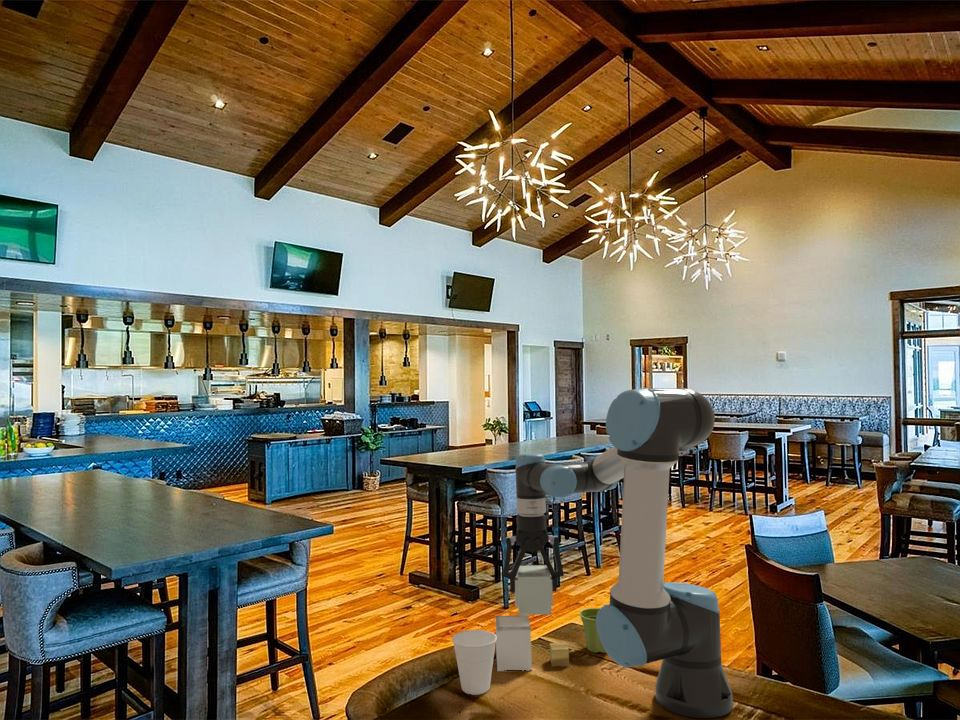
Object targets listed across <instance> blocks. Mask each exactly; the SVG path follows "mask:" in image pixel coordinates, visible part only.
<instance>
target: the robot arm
mask: <svg viewBox="0 0 960 720" xmlns="http://www.w3.org/2000/svg"><path fill="white" fill-rule="evenodd" d="M609 405H610V406H609V408H608V410H607V414H606V419H605V430H606V434H607V435H608V436H609V437H608V440H609V442H610V444H611V445H612V447H611V448H609V449H607V450H605V451H604V452H602V453H600V454H599V455H597V456H596V457H594V458H593V459H591V460H589V461H588V460H587V461H579V462H567V463H546V461H545V460H546V459H545V455H544V454H542V453H537V452H533V453H532V452H527V453H519V454H517V455H516V458H515V468H514V469H515V470H514V471H515V487H516V512H517V516H516V533H515V535H513V536H509V535H506V537H505V543H506V547H505V557H504V562H503V571H502V575H503V577H504V578H506V579H507V578H508V579H509V586H510V587H509V588H510V589H509V591H510V593H514V605H515V608H516V607H517V608H518V579H517V572H518V569H519V567H520V566H521V564H522V562H523V559H524V557H525V555H526V553H530V552H539V553H540V554H541V557H542V559H543V561H544V563H545V565H546V566H547V568H548V570H549V571H550V582H551V607H553V606H554V599H553V593H554V592H557V588H558V586H557V579H558V578H560V577H563V576H564V575H565V574H564V569H563V565H562V560H561V559H562V558H561V554H560V549H559V542H560V538H559V536H558V535H556V534H555V535H549V533H548V530H547V515H545V513H546V512H547V508H546V507H547V505H546V504H547V502H546V501H547V500H546V496H550V497H552V498H566V497H569V496H570V495H571V494H572V495H573V494H581V493H582V494H583V493H593V492H605V491H608V490H609V491H610V490H614V489H615V488H616V487H617V486H618V483H619V482H620V480H622V479H623V486H622V487H623V488H622V489H623V490H622V504H621V505H622V506H621V507H622V508H621V525H620V526H621V527H620V544H619V547H620V548H619V565H618V566H619V567H618V581H617V582H616V583H615V584H613V585H612V586H611V587H610V591H609V604H604V605H602V607H600V608H601V609H600V610H599V611H598V613H597V617H596V626H597V632H598V636H599V639H600V641H601V643H602V645H603V647H604V649H605V651H606V654H607V655H608V657H609V658H610V659H611V660H612V661H613V662H615V664H617V665H619V666H620V667H623V668H634V667H643V666H645V665H646V664H651V663H654V662H657V661H661V664H660V667H659V668H660V669H659V671H658V674H657V678H656V682H655V687H654V688H655V689H654V692H655V700H656V702H657V703H658V704H659V705H660V706H661V707H662V708H663V709H665V710H667V711H669V712H671V713H673V714H676V715H680V716H683V717H688V718H693V719H695V718H696V719H712V718H720V717H723V716H726V715H728V714H729V713H730V712H732V710H733V708H734V701H733V698H734V697H733V696H734V695H733V693H732V689H731V686H730V684H729V681H728V678H727V676H726V672H725V670H724V667H723V663H722V641H721V639H722V638H721V619H720V618H721V617H720V615H721V610H720V608H719V607H720V606H719V599H718V596H717V594H716V593H715V592H714V591H713V590H711V589H709V588H708V587H703V586H701V585H697V584H691V583H686V582H678V581H677V582H676V581H675V582H673V581H672V582H671V581H667V582H664V578H665V575H664V574H665V559H666V558H665V557H666V543H667V539H666V538H667V526H668V525H667V523H668V521H667V520H668V506H669V505H668V504H669V487H670V485H669V484H670V469H671V468H672V467H673V466H674V465H675V464H677V462H679V455H680V453H683V452H686V451H688V450H690V449H692V448H694V447H696V446H698V445H700V444H702V443H704V441H706V440H707V439H708V438H709V437H710V435H711V434H712V433H713V430H714V427H715V423H716V422H715V419H716V418H715V412H714V408H713V406H712V403H710V401H709V400H708V399H707V398H706V397H705V396H704V395H703V394H702V393H700V392H698V391H696V390H695V389H691V388H685V387H680V388H679V387H678V388H677V387H675V388H657V387H656V388H653V387H652V388H651V387H649V388H647V387H645V388H644V387H643V388H642V387H639V388H635V389H628V390H624V391H622V392H621V393H619V394H618V395H617V396H616V398H614V399H613V400H612V402H611V403H610V404H609ZM516 541H517V543H518V544H519V546H520V547H519V550H518V554H517V556H516V558H515V561H514V564H513V566H512V568H511V571H509V569H510V563H511V557H512V549H513V547H512V546H514V545H515V542H516ZM548 541H549V543H550V545H552V550H553V555H554V561H555V564H556V569H557V570H555V569H554V567H553V565H552V563H551V561H550V559H549V556H548V555H547V552H546V550H545V548H544V547H545V545H546V544H547V542H548Z"/></svg>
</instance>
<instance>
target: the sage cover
mask: <svg viewBox="0 0 960 720" xmlns="http://www.w3.org/2000/svg"><path fill="white" fill-rule="evenodd" d="M516 577H517V579H518V607H517V611H518V615H528V616H529V615H531V616H533V615H537V616H538V615H541V616H542V615H552V606H551V582H550V577H551V574H550V571H549V570H548V568H547V566H546V564H538V565H537V564H533V565H531V564H530V565H529V564H528V565H527V564H526V565H525V564H524V565H520V567H519V569H518V572H517V574H516Z"/></svg>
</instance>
